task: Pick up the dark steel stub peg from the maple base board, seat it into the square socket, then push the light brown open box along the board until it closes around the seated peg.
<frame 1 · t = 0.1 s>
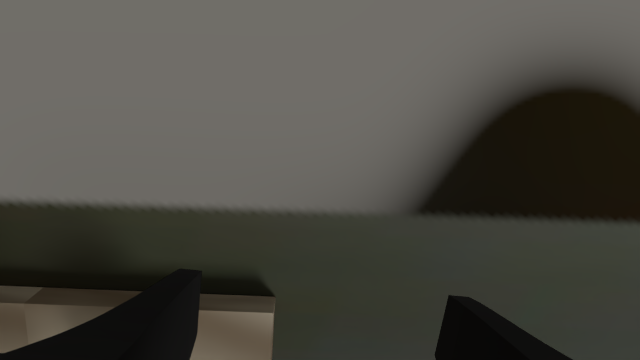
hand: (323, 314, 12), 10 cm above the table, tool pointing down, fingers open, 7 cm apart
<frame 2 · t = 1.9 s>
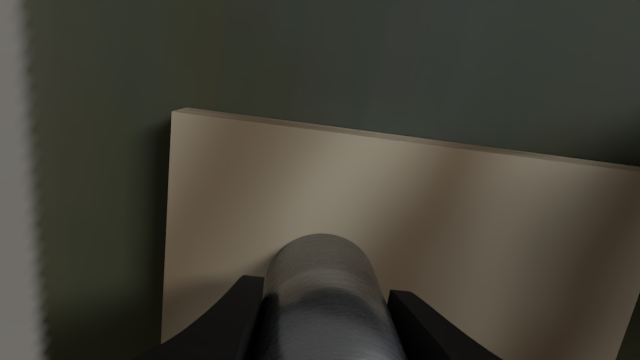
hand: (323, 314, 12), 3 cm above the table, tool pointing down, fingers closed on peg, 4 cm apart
peg: (320, 284, 13), point 2 cm above the table, touching board, gripper
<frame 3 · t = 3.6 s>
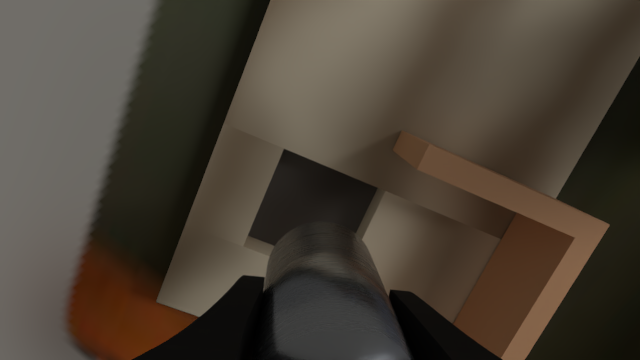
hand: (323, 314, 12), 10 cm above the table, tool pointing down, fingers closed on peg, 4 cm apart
light brown open box: (437, 283, 18), point 4 cm above the table, slide at 5.5 cm
peg: (320, 272, 14), point 7 cm above the table, touching gripper
board: (389, 157, 20), on the table
when the fingers open (3 cm above the table, at t = 5.2 s): peg stays where it is, resting on board.
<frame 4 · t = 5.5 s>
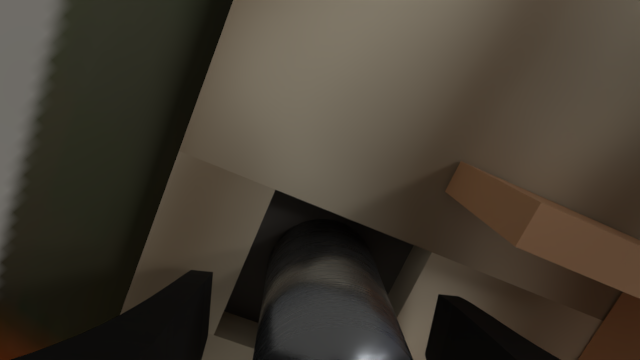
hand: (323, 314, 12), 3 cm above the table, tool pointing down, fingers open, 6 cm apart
peg: (320, 268, 14), resting on board
board: (433, 196, 14), on the table
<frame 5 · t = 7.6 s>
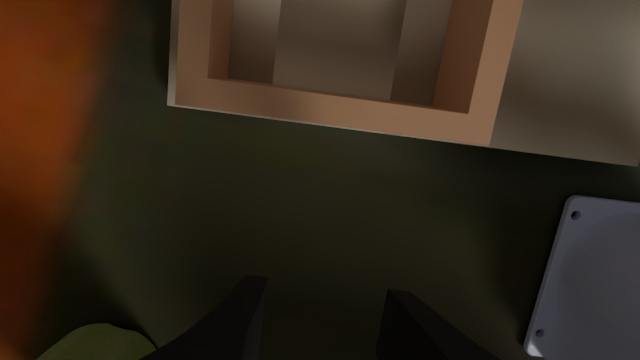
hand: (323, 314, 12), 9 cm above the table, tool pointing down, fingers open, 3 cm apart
light brown open box: (347, 12, 15), point 4 cm above the table, slide at 5.5 cm
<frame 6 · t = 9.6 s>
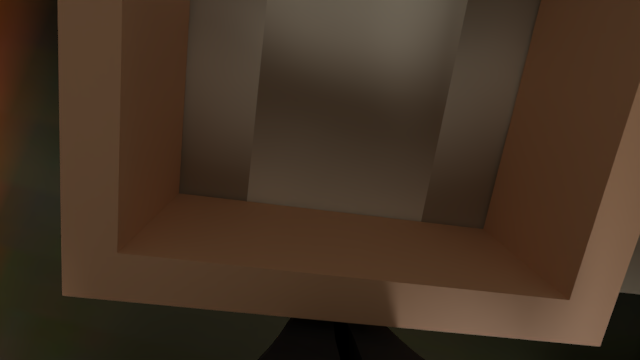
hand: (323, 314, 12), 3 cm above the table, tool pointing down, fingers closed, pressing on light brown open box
light brown open box: (363, 115, 9), point 4 cm above the table, slide at 5.4 cm, touching gripper
board: (492, 10, 12), on the table
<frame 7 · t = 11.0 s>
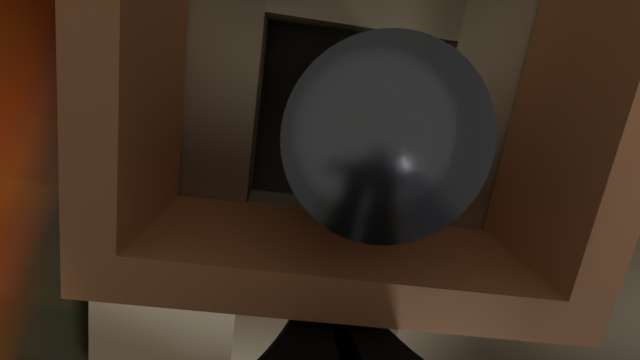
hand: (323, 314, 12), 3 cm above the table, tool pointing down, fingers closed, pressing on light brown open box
light brown open box: (362, 116, 9), point 4 cm above the table, slide at -0.9 cm, touching gripper
peg: (349, 119, 13), resting on board
board: (447, 207, 14), on the table
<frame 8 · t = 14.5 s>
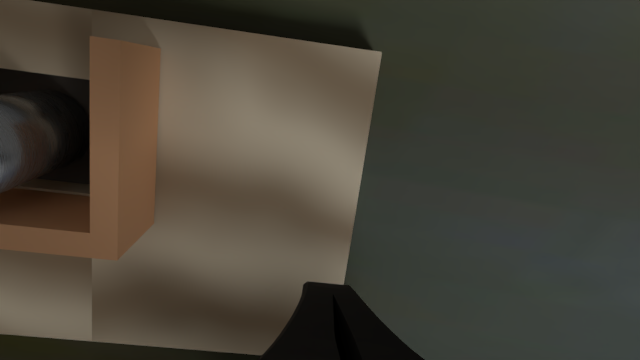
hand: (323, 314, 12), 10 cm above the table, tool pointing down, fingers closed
peg: (53, 128, 19), resting on board
board: (136, 186, 20), on the table
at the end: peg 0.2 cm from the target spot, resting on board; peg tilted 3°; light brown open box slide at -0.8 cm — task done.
